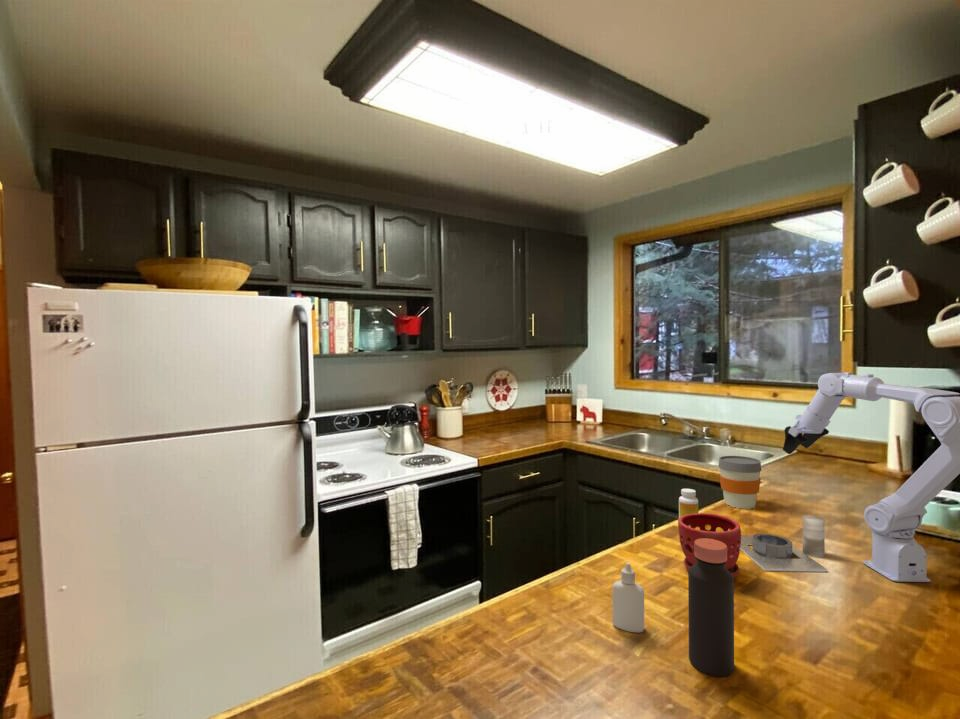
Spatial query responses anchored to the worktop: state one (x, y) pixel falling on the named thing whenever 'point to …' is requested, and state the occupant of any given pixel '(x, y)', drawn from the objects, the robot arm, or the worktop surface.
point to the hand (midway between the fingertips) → (795, 448)
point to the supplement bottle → (688, 502)
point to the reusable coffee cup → (740, 480)
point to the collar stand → (777, 554)
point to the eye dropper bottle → (628, 602)
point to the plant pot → (710, 536)
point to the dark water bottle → (711, 609)
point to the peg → (813, 536)
